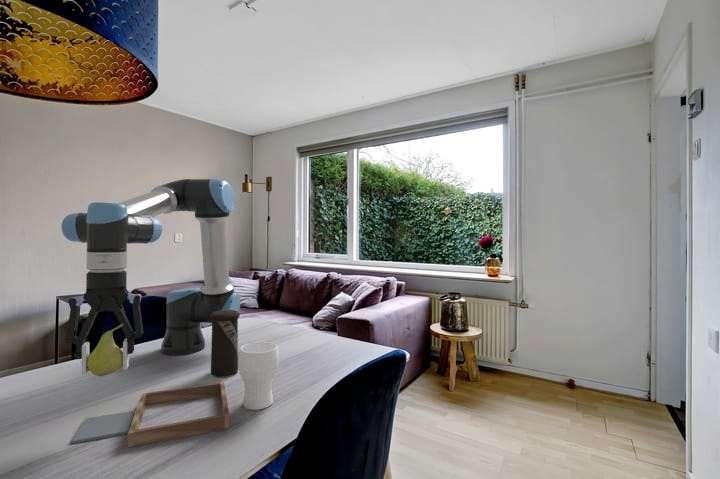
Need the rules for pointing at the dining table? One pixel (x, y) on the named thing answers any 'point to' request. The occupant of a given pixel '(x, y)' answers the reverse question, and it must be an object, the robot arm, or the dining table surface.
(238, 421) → the dining table surface
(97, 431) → the slate coaster
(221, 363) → the container
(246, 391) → the cup
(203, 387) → the walnut frame
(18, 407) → the dining table surface
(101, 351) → the fruit
